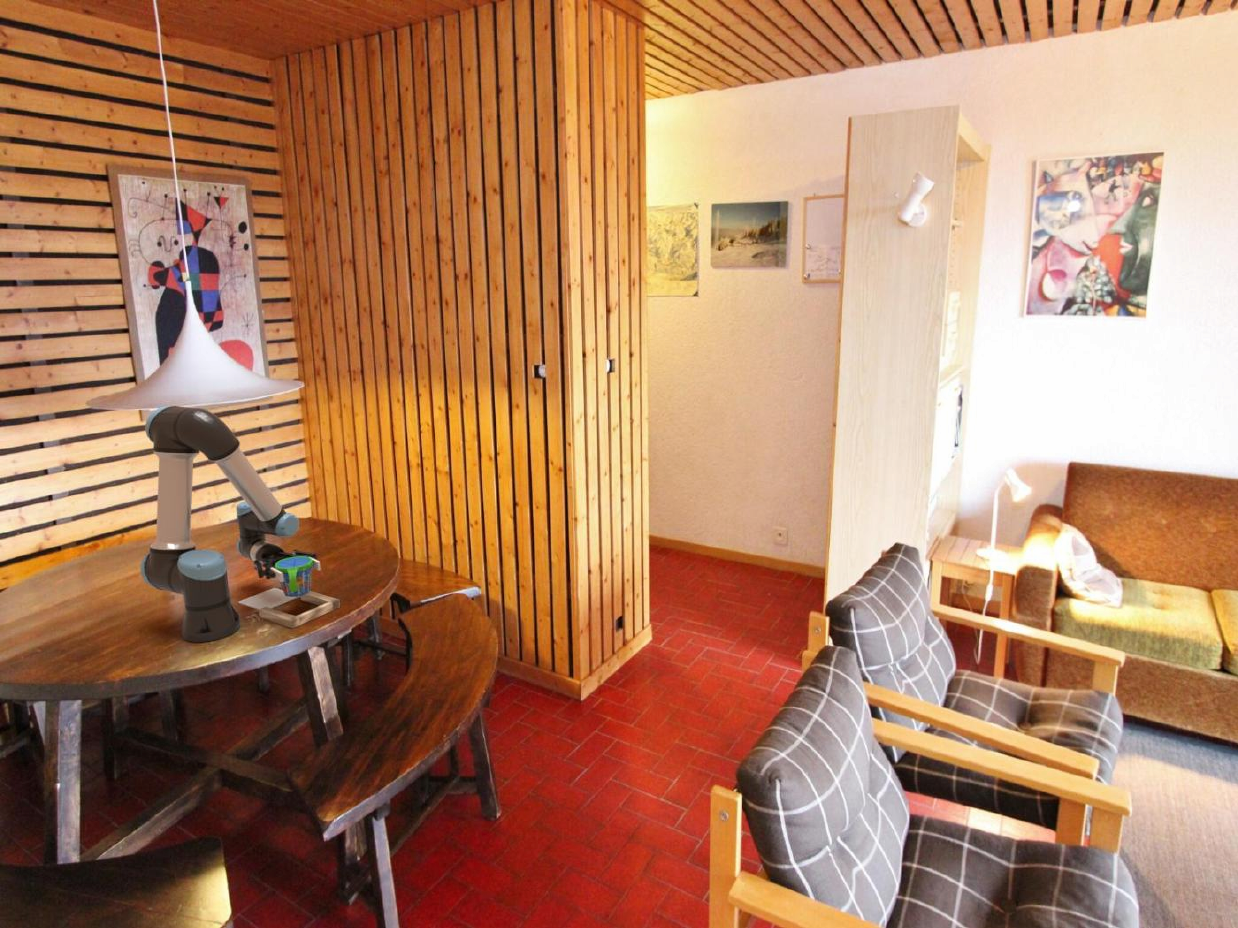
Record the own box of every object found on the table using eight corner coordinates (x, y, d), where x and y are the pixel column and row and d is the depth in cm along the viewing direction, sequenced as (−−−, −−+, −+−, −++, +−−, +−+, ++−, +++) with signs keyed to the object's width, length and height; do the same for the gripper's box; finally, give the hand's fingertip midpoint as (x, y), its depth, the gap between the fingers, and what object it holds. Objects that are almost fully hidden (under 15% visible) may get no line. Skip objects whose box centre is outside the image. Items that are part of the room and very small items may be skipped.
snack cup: (284, 584, 236) (280, 554, 234) (319, 581, 238) (316, 551, 236) (273, 605, 221) (269, 572, 219) (311, 601, 223) (307, 569, 221)
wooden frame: (292, 628, 220) (291, 620, 219) (259, 617, 227) (258, 609, 227) (340, 607, 234) (339, 599, 233) (307, 597, 242) (306, 589, 241)
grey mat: (263, 611, 231) (263, 610, 231) (237, 603, 238) (237, 601, 238) (300, 596, 242) (299, 595, 242) (274, 588, 249) (274, 587, 248)
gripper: (304, 555, 249) (338, 572, 235) (231, 576, 232) (263, 595, 218) (301, 534, 247) (335, 549, 233) (228, 553, 230) (260, 571, 216)
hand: (301, 571), depth 225 cm, fingers closed on snack cup, 11 cm apart
